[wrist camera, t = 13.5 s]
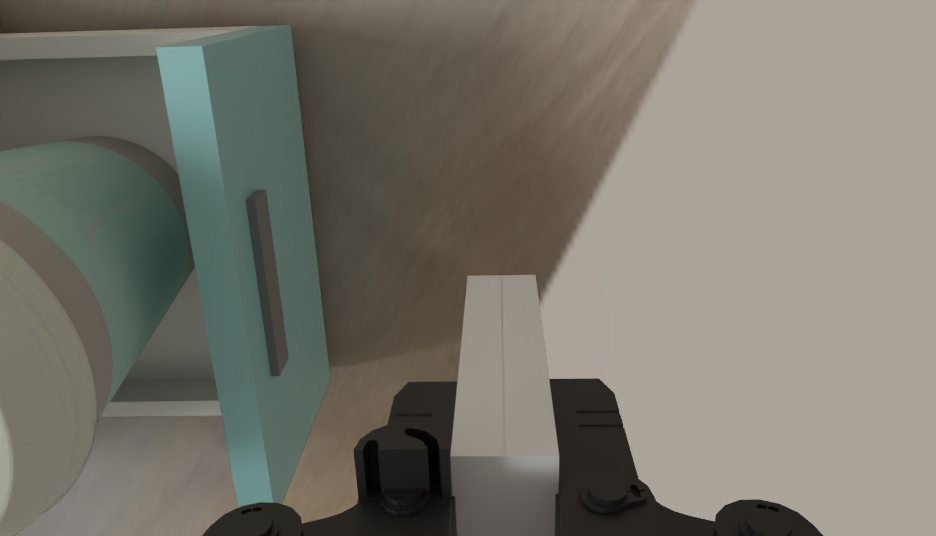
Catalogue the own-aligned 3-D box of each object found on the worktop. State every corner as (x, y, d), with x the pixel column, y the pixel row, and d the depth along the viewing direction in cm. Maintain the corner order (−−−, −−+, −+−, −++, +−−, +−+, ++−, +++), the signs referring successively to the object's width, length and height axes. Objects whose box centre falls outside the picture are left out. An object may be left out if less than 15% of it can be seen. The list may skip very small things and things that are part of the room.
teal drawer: (10, 383, 28) (-154, 524, 21) (-92, 36, 23) (-349, 62, 16) (336, 378, 27) (284, 520, 20) (298, 24, 23) (213, 45, 16)
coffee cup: (-52, 105, 23) (-554, 224, 12) (213, 79, 23) (-52, 177, 11) (32, 346, 26) (-303, 619, 15) (267, 328, 26) (100, 595, 15)
